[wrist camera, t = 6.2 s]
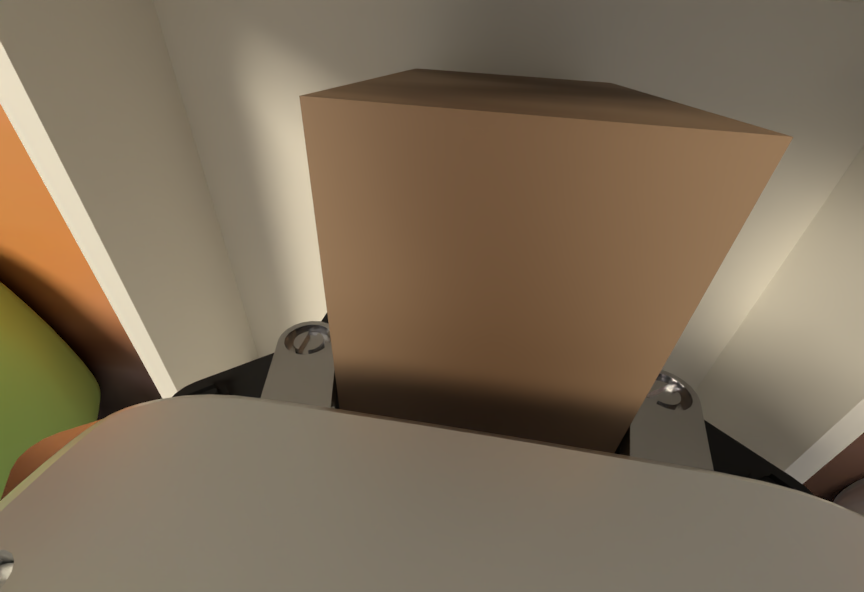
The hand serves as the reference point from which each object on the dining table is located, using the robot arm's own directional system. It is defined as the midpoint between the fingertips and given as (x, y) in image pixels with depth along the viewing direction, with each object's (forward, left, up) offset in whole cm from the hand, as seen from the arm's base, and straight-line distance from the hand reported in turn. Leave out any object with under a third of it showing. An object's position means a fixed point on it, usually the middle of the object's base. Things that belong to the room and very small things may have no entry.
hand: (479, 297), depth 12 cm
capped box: (0, 0, -1) cm, 1 cm away
